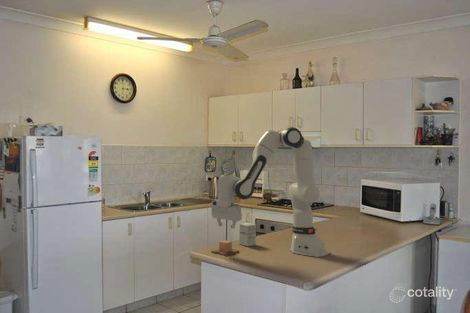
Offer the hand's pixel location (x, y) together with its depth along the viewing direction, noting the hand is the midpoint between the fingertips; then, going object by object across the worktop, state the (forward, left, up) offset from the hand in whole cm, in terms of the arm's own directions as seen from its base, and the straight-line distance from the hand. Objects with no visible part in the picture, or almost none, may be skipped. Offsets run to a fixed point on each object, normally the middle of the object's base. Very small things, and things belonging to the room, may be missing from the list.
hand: (226, 227), depth 229 cm
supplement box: (+3, -23, -14) cm, 27 cm away
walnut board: (0, 0, -14) cm, 14 cm away
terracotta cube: (0, 0, -13) cm, 13 cm away
